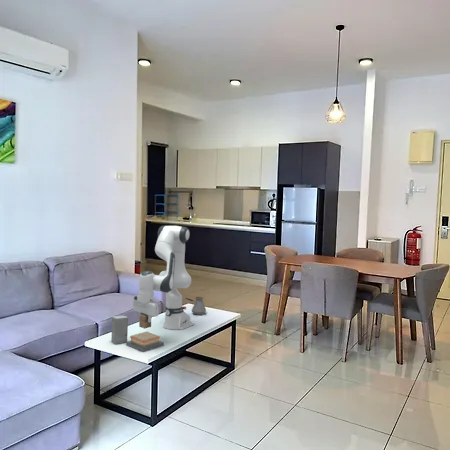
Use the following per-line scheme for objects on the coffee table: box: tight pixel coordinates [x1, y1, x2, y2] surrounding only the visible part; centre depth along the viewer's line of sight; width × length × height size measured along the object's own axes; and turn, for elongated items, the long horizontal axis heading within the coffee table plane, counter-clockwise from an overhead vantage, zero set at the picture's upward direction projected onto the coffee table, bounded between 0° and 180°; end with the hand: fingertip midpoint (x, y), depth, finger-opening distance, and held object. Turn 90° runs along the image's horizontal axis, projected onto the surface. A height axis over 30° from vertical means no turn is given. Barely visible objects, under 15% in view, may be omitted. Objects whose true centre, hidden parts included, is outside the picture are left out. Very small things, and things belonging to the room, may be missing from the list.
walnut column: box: [138, 313, 152, 329], centre depth 251 cm, size 5×5×8 cm
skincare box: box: [110, 315, 129, 345], centre depth 257 cm, size 8×7×16 cm
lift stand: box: [125, 331, 165, 353], centre depth 252 cm, size 16×16×6 cm
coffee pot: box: [183, 296, 207, 316], centre depth 323 cm, size 21×12×15 cm, turn 140°
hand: (145, 320), depth 251 cm, fingers closed on walnut column, 5 cm apart
